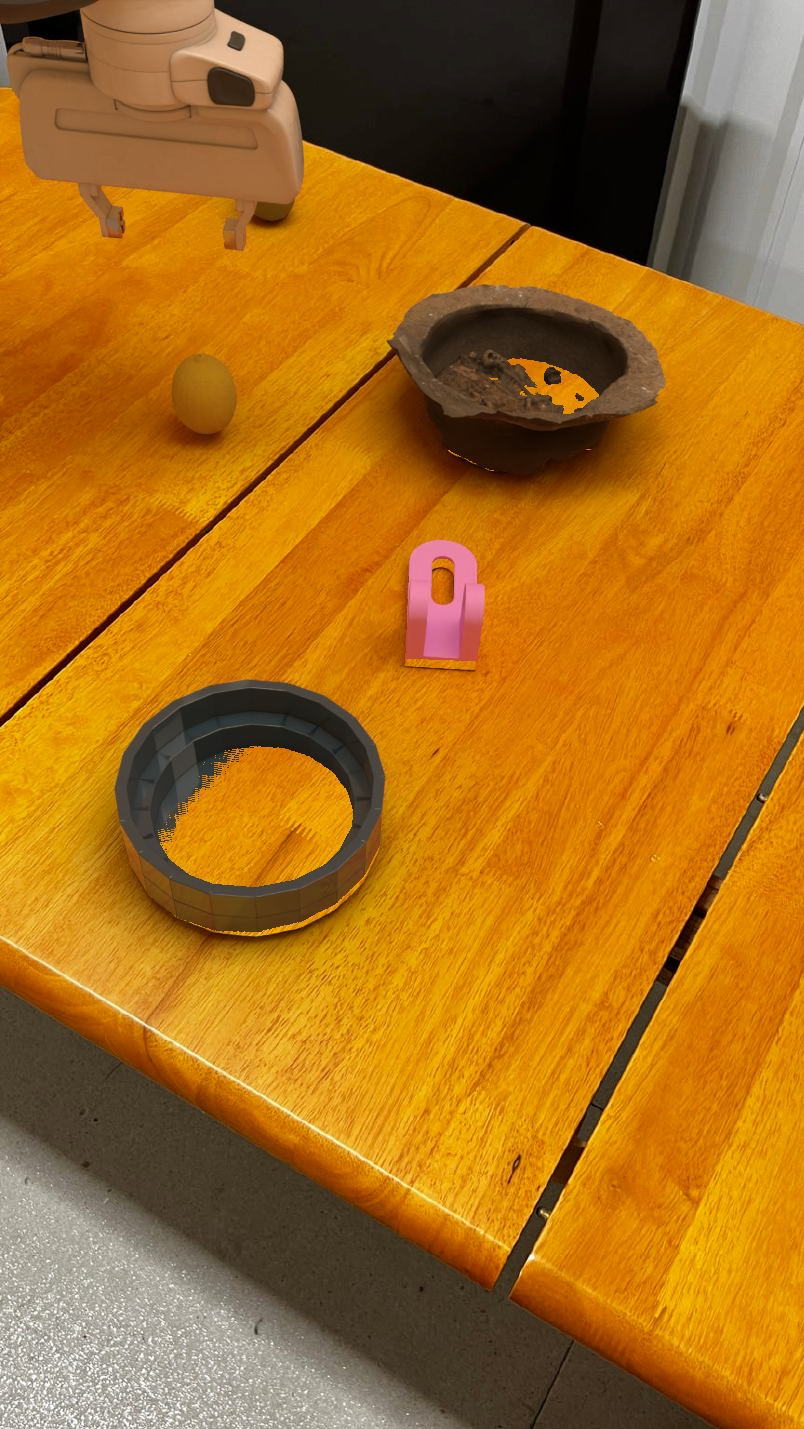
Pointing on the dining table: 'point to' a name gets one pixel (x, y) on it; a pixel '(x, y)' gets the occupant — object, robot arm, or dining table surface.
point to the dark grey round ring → (194, 734)
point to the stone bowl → (522, 372)
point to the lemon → (203, 394)
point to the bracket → (444, 606)
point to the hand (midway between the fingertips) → (175, 240)
